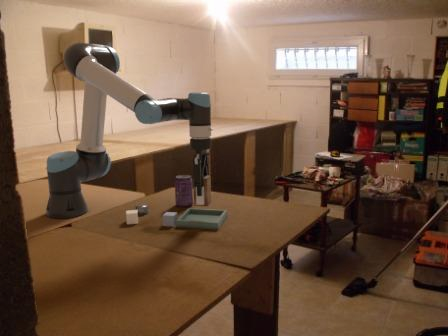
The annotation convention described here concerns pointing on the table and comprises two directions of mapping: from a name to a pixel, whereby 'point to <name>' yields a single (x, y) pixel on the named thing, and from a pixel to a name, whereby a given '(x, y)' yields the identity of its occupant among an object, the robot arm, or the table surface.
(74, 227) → the table surface
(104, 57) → the robot arm
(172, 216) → the slate-blue block
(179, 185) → the beverage can
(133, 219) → the cream cube
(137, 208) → the grey metal puck
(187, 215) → the tray
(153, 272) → the table surface
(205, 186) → the walnut block
